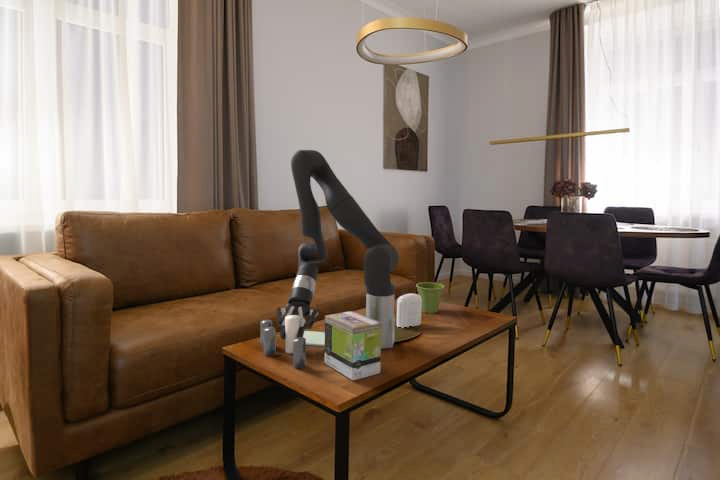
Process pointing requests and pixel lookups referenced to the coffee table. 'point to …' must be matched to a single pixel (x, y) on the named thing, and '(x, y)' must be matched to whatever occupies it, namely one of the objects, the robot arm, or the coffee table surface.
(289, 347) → the cylinder
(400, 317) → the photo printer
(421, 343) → the coffee table surface
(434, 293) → the plant pot
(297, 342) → the posts
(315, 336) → the mat
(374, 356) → the tea box
